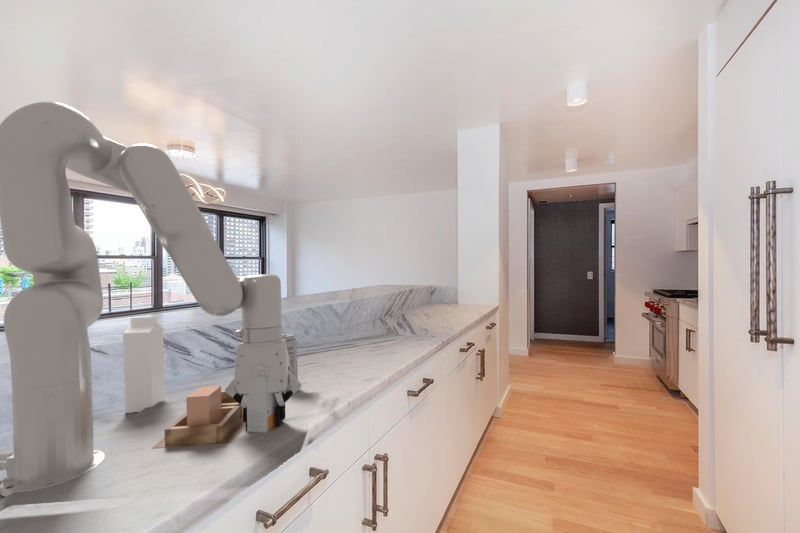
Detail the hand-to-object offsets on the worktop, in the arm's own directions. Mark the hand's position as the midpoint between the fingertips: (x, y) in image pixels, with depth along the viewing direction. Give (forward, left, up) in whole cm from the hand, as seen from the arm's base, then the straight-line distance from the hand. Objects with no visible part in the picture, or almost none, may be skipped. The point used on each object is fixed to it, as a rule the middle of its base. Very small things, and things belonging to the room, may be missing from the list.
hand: (264, 423), depth 75 cm
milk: (-33, +18, -2) cm, 38 cm away
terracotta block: (-11, -1, 0) cm, 11 cm away
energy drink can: (-1, +25, -2) cm, 25 cm away
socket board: (-11, +4, -2) cm, 12 cm away
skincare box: (0, 0, -2) cm, 2 cm away
